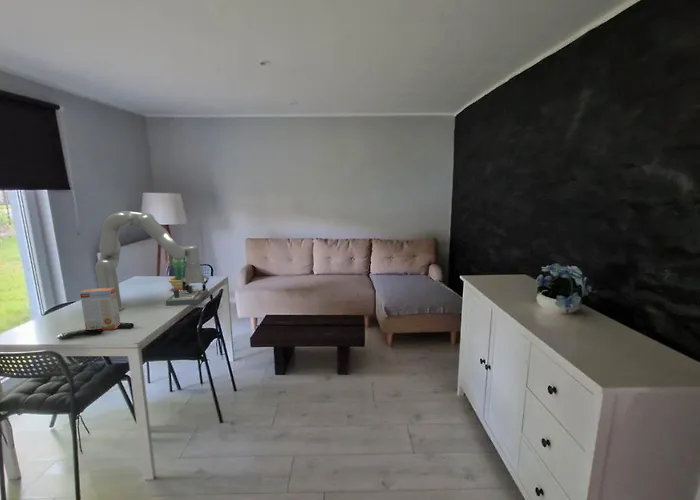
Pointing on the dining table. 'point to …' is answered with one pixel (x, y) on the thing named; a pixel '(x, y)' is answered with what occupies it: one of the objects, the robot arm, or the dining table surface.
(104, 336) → the dining table surface
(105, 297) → the cracker box
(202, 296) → the breaker panel
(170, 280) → the potted cactus
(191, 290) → the breaker handle
